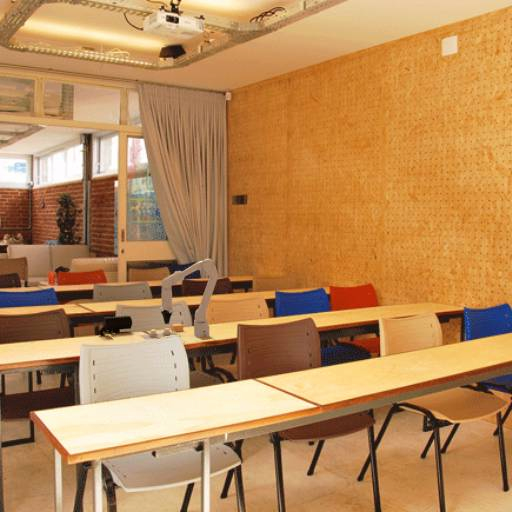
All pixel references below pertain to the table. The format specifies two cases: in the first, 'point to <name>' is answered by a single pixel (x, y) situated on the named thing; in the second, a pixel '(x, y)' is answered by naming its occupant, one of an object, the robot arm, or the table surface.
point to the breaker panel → (157, 335)
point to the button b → (153, 331)
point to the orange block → (176, 327)
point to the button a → (167, 330)
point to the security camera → (115, 324)
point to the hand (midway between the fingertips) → (166, 323)
